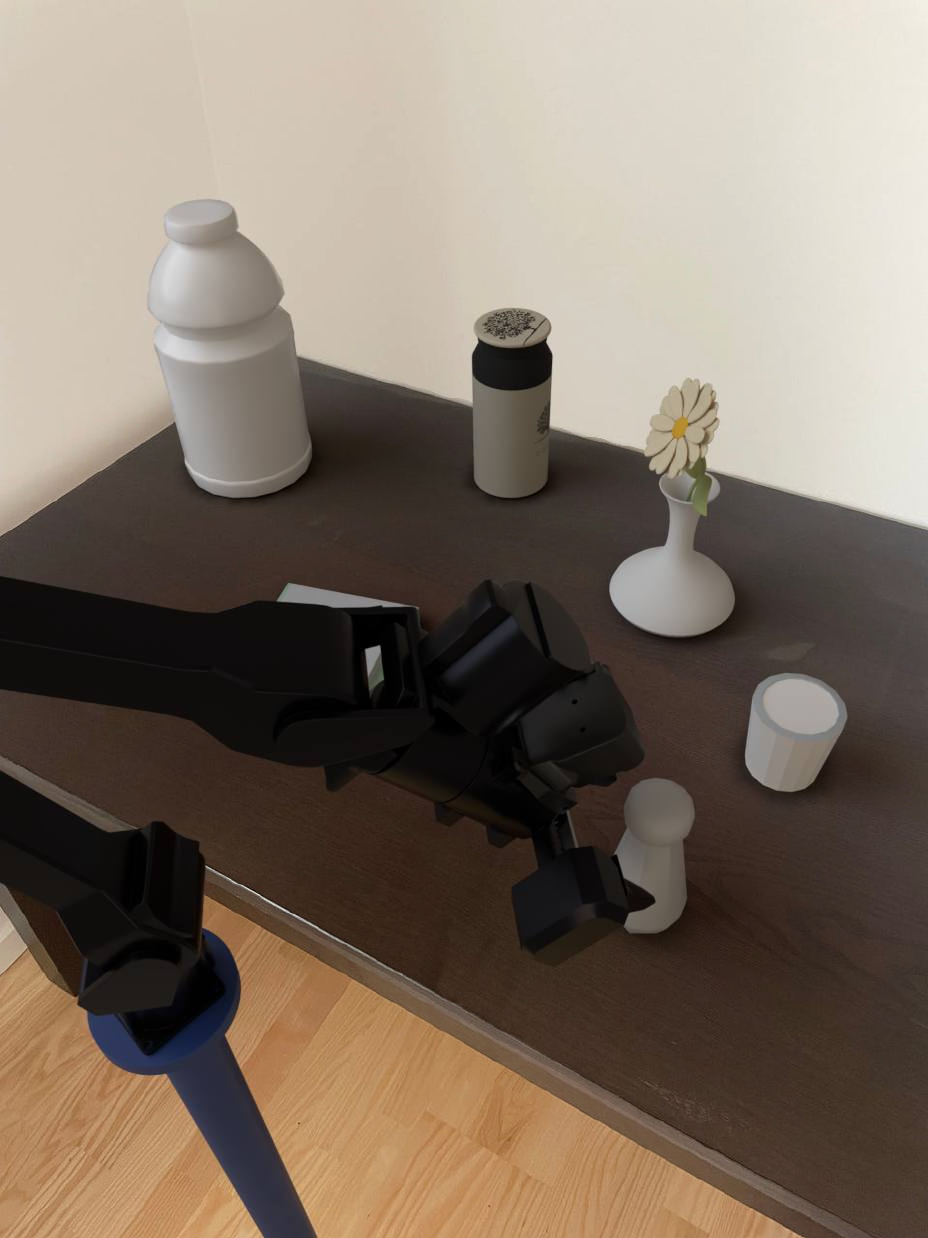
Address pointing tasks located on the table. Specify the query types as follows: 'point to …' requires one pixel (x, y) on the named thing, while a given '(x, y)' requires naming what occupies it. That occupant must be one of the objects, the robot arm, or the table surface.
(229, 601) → the table surface
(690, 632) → the flower in vase
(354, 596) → the scale
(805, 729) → the shot glass
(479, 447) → the travel mug
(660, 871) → the salt shaker
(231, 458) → the bottle
